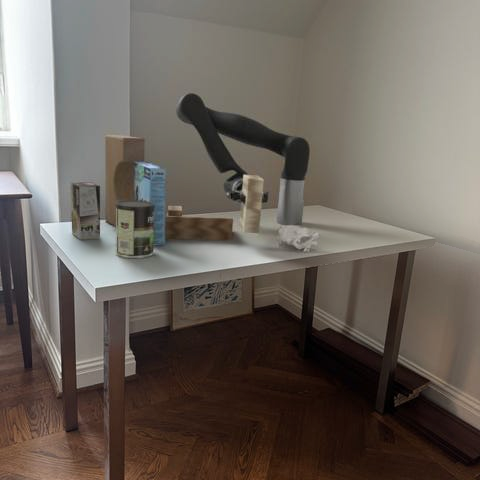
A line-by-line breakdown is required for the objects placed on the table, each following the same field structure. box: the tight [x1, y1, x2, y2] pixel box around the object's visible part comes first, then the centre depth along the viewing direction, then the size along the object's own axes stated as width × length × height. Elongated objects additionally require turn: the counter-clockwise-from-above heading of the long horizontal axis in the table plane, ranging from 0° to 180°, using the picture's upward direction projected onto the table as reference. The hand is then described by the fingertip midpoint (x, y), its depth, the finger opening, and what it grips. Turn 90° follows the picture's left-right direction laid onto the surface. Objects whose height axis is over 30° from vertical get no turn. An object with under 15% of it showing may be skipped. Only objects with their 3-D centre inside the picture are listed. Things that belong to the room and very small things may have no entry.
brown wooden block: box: [165, 215, 234, 241], centre depth 155 cm, size 23×14×7 cm, turn 98°
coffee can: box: [115, 200, 155, 259], centre depth 128 cm, size 10×10×14 cm
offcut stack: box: [166, 205, 183, 216], centre depth 154 cm, size 5×10×9 cm, turn 8°
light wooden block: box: [239, 174, 265, 234], centre depth 142 cm, size 4×10×16 cm, turn 8°
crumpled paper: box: [277, 224, 320, 253], centre depth 146 cm, size 12×7×12 cm
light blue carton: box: [134, 161, 167, 246], centre depth 144 cm, size 20×5×23 cm, turn 25°
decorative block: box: [104, 134, 146, 228], centre depth 157 cm, size 15×8×30 cm, turn 37°
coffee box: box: [70, 181, 101, 241], centre depth 142 cm, size 9×6×16 cm
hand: (252, 200), depth 139 cm, fingers closed on light wooden block, 4 cm apart
